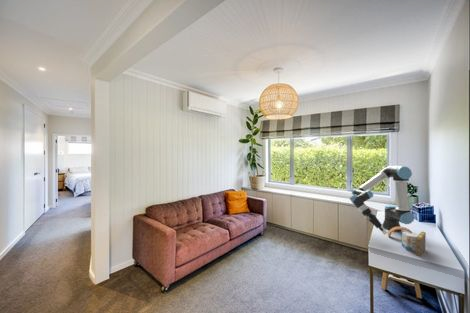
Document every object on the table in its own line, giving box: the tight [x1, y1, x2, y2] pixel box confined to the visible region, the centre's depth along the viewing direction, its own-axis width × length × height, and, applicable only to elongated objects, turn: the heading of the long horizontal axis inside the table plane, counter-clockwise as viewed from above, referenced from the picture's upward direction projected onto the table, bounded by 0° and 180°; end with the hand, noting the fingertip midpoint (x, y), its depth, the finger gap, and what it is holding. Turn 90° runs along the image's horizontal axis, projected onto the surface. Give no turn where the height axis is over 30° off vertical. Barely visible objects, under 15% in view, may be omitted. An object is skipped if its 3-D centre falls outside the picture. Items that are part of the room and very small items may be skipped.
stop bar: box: [415, 230, 427, 257], centre depth 157 cm, size 18×2×14 cm, turn 128°
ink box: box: [401, 231, 419, 252], centre depth 164 cm, size 9×8×12 cm
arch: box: [387, 226, 413, 238], centre depth 183 cm, size 6×20×10 cm, turn 60°
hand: (386, 233), depth 176 cm, fingers closed
